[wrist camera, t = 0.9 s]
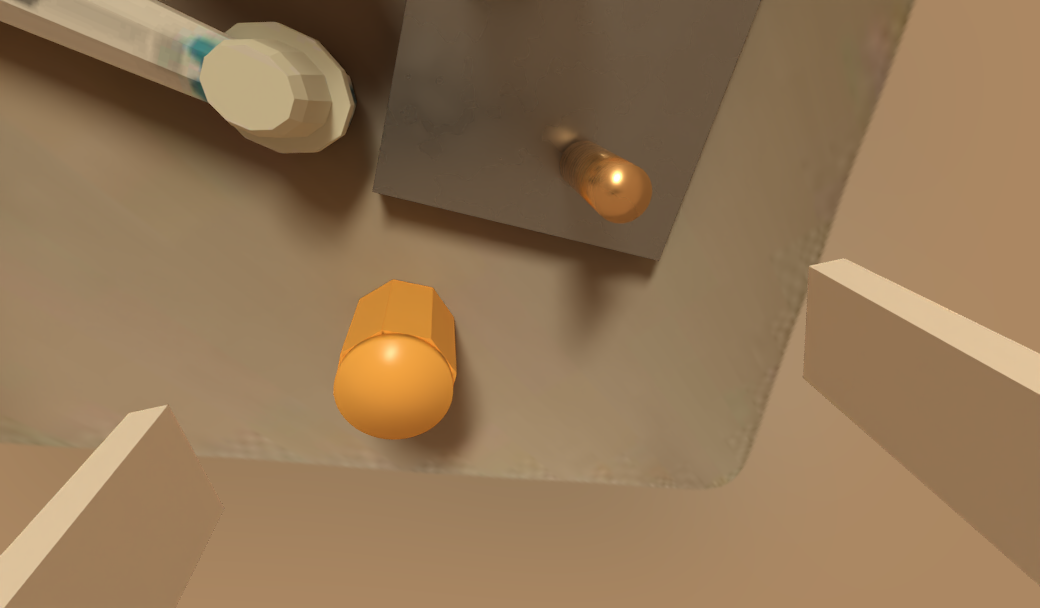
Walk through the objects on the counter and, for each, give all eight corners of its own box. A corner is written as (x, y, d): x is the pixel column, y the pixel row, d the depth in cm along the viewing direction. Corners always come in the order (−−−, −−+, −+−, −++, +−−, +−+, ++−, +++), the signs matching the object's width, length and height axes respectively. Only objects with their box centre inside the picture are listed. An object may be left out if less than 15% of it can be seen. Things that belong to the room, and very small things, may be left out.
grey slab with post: (376, 183, 29) (350, 232, 21) (442, -179, 23) (442, -312, 15) (646, 249, 33) (716, 314, 24) (760, -51, 27) (902, -100, 19)
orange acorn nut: (348, 357, 33) (325, 430, 27) (364, 273, 31) (343, 329, 25) (439, 373, 34) (439, 446, 28) (460, 293, 32) (465, 351, 26)
